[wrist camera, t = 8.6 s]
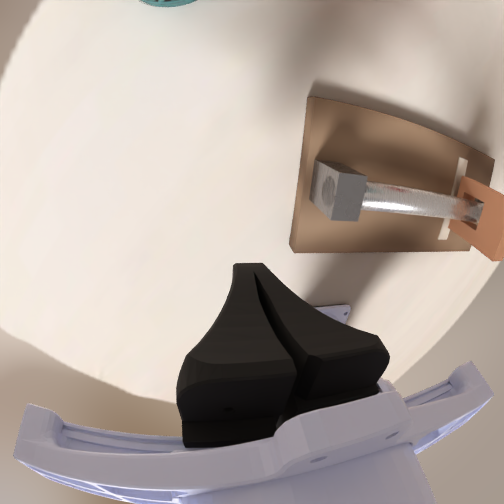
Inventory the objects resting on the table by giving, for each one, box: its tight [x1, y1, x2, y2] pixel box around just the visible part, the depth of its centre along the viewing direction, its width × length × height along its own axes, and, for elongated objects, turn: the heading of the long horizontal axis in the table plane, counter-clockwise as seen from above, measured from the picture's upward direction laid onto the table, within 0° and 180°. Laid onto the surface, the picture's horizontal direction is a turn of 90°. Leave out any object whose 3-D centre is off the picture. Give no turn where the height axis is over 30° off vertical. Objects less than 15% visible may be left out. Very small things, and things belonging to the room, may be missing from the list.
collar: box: [448, 176, 504, 261], centre depth 18 cm, size 6×2×7 cm, turn 176°
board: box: [289, 97, 495, 253], centre depth 21 cm, size 12×24×2 cm, turn 86°
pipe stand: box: [309, 159, 484, 223], centre depth 19 cm, size 3×23×4 cm, turn 86°
